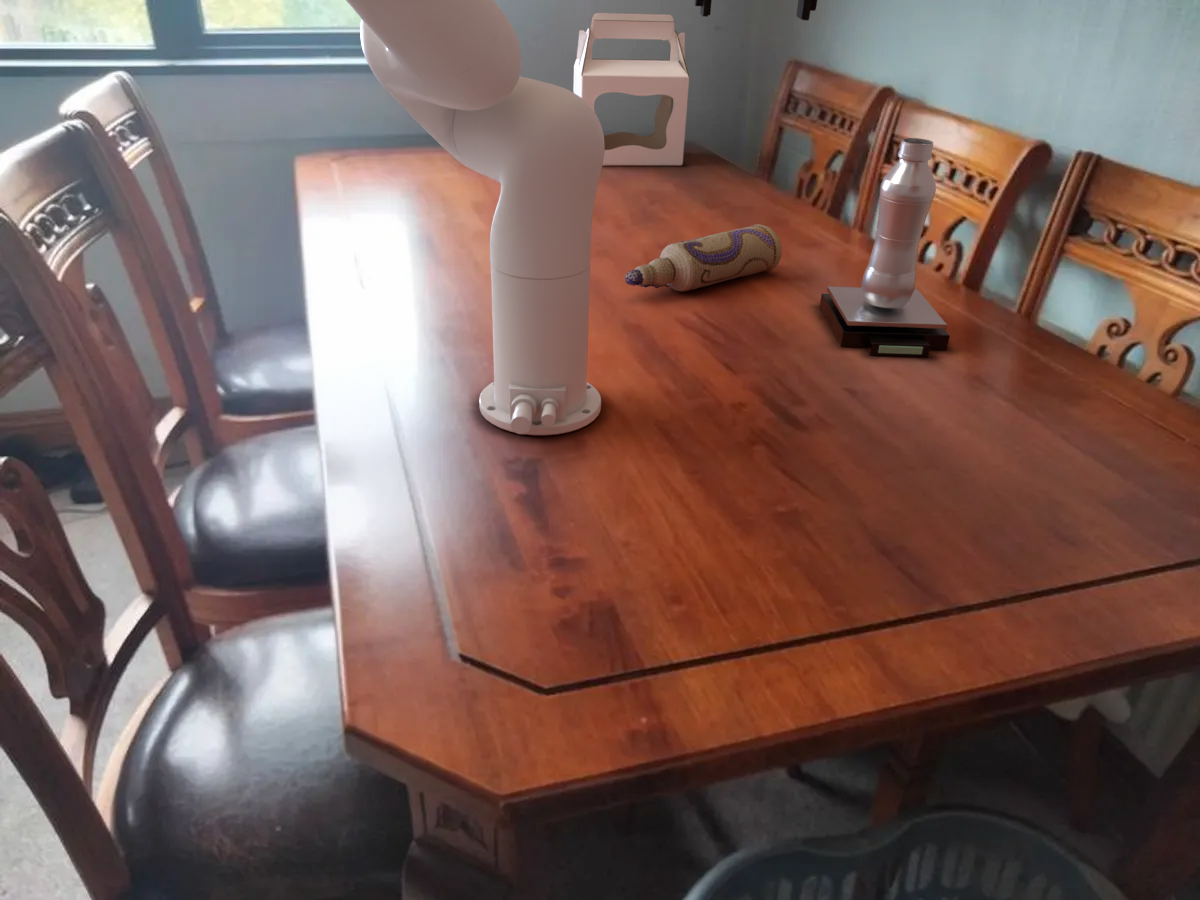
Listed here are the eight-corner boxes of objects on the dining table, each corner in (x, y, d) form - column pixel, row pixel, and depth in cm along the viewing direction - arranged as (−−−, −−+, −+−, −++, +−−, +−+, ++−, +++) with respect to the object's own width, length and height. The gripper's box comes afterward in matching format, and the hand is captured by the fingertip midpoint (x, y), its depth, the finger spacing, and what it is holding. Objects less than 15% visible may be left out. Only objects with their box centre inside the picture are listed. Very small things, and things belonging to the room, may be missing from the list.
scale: (953, 359, 109) (959, 334, 107) (845, 355, 109) (849, 330, 107) (915, 310, 122) (920, 288, 121) (819, 307, 122) (823, 284, 120)
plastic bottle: (852, 307, 114) (882, 142, 103) (865, 291, 119) (895, 132, 109) (904, 318, 111) (941, 150, 101) (915, 301, 116) (951, 139, 106)
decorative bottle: (744, 261, 138) (750, 217, 134) (780, 276, 132) (787, 231, 129) (607, 292, 124) (609, 244, 121) (640, 310, 119) (644, 261, 116)
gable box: (578, 165, 187) (581, 15, 173) (571, 151, 198) (573, 9, 184) (683, 165, 190) (695, 18, 176) (670, 151, 201) (680, 11, 187)
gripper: (682, -204, 77) (668, 17, 86) (884, -196, 78) (850, 24, 86) (676, -195, 84) (663, 10, 92) (863, -187, 84) (833, 17, 93)
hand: (753, 17), depth 89 cm, fingers open, 9 cm apart
